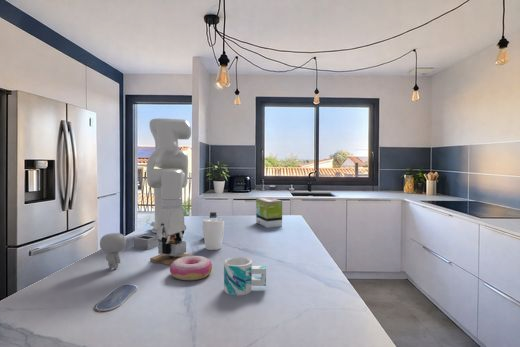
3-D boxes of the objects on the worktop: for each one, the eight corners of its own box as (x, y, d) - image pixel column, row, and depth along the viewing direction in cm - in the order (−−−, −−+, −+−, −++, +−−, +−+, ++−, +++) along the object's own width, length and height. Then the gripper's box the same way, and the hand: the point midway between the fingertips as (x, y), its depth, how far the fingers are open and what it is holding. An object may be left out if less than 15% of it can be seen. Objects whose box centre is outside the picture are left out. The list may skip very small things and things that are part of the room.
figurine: (130, 267, 111) (130, 233, 111) (110, 273, 105) (110, 237, 104) (116, 263, 115) (115, 230, 115) (96, 269, 109) (95, 234, 108)
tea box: (255, 222, 188) (255, 197, 187) (270, 221, 192) (270, 197, 192) (266, 228, 174) (266, 201, 174) (282, 226, 179) (283, 200, 178)
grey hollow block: (133, 247, 136) (133, 237, 136) (144, 243, 141) (144, 234, 141) (147, 249, 132) (147, 240, 132) (158, 246, 138) (158, 236, 138)
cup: (220, 251, 130) (220, 222, 129) (199, 250, 132) (199, 221, 131) (226, 245, 139) (226, 218, 138) (207, 244, 141) (207, 217, 140)
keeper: (150, 261, 117) (150, 242, 117) (168, 254, 126) (168, 236, 126) (176, 266, 112) (176, 246, 112) (193, 258, 121) (193, 239, 121)
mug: (226, 283, 97) (226, 256, 97) (265, 284, 97) (265, 256, 96) (222, 295, 89) (222, 265, 88) (266, 295, 89) (266, 266, 88)
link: (158, 253, 118) (158, 242, 118) (169, 249, 124) (169, 239, 124) (175, 256, 115) (175, 245, 115) (186, 252, 120) (186, 241, 120)
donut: (169, 285, 96) (169, 268, 96) (170, 270, 109) (170, 255, 109) (214, 280, 100) (214, 264, 100) (209, 266, 113) (209, 252, 113)
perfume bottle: (213, 239, 149) (213, 214, 148) (204, 237, 153) (203, 212, 152) (222, 237, 154) (222, 212, 153) (213, 235, 157) (213, 211, 157)
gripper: (178, 199, 128) (179, 244, 129) (146, 205, 112) (147, 256, 113) (194, 201, 125) (194, 246, 126) (163, 207, 109) (164, 259, 110)
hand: (172, 250), depth 119 cm, fingers closed on link, 5 cm apart
